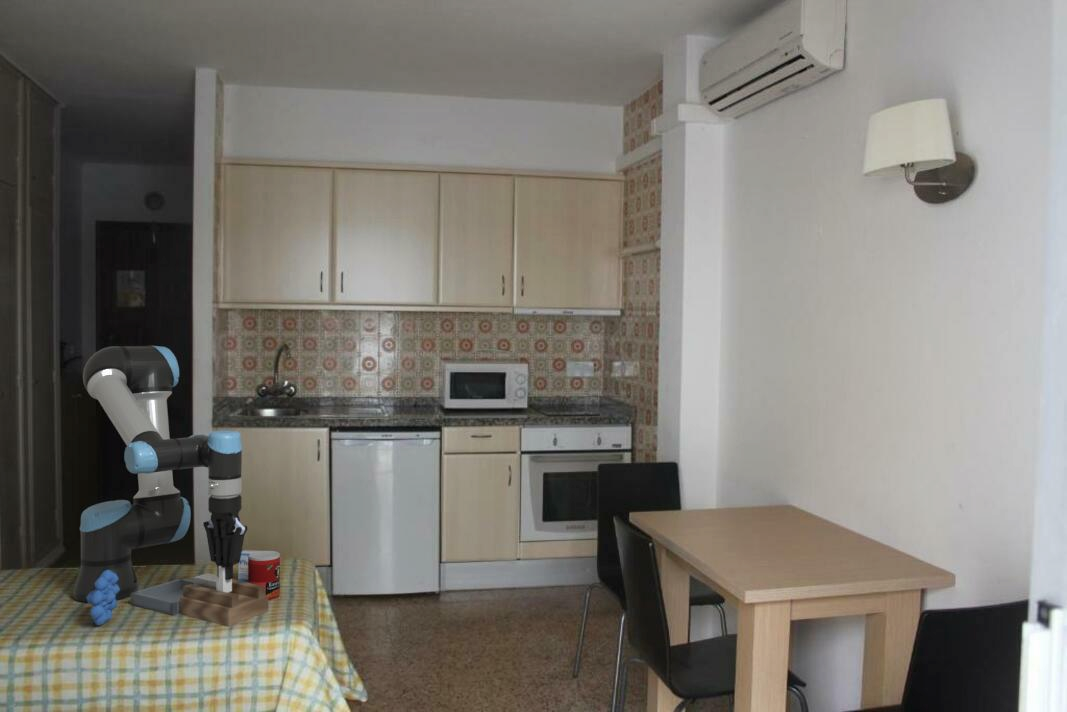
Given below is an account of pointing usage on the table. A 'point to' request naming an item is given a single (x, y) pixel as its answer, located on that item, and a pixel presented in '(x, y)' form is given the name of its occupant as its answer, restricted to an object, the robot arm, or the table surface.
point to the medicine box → (244, 565)
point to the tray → (161, 596)
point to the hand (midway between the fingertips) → (225, 591)
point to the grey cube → (212, 583)
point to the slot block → (224, 603)
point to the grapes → (103, 597)
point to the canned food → (265, 571)
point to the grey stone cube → (202, 579)
